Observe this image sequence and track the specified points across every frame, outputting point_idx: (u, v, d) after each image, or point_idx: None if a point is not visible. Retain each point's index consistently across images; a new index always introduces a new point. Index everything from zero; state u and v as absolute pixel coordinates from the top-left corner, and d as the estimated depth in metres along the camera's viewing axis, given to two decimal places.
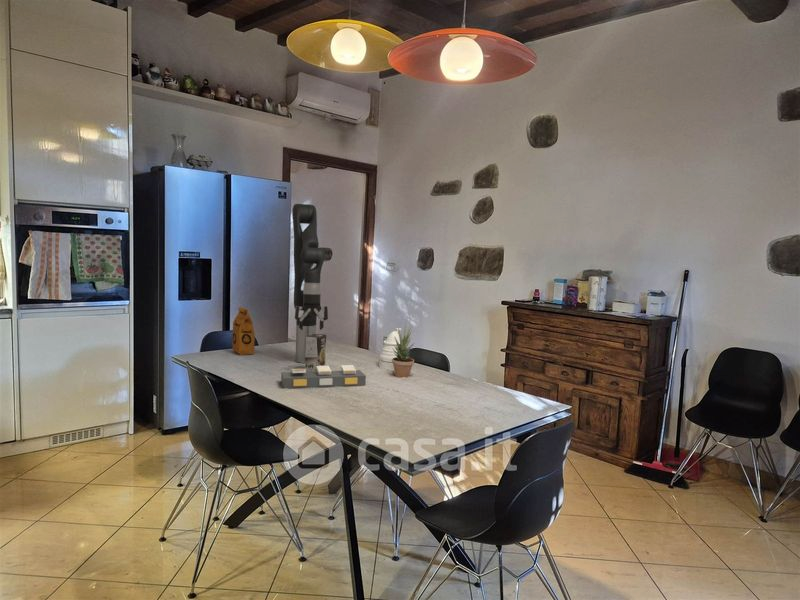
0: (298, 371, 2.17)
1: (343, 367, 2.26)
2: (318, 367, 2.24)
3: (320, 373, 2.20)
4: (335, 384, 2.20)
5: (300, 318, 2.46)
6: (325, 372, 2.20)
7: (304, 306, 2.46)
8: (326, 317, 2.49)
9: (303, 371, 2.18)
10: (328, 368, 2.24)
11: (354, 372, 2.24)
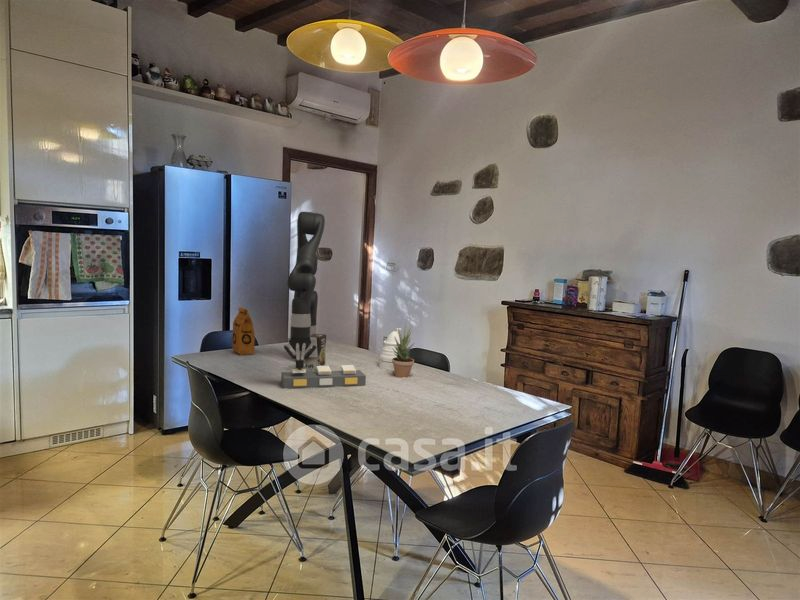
0: (298, 371, 2.17)
1: (343, 367, 2.26)
2: (318, 367, 2.24)
3: (320, 373, 2.20)
4: (335, 384, 2.20)
5: (297, 357, 2.16)
6: (325, 372, 2.20)
7: (290, 341, 2.14)
8: (307, 355, 2.17)
9: (303, 371, 2.18)
10: (328, 368, 2.24)
11: (354, 372, 2.24)
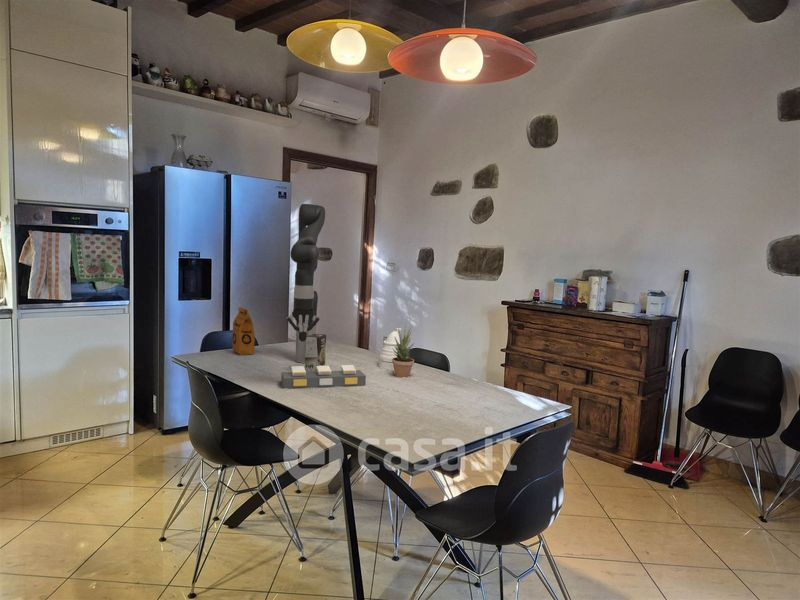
0: (298, 374, 2.17)
1: (343, 367, 2.26)
2: (318, 367, 2.24)
3: (320, 373, 2.20)
4: (335, 384, 2.20)
5: (300, 328, 2.16)
6: (325, 372, 2.20)
7: (293, 313, 2.14)
8: (310, 327, 2.17)
9: (303, 374, 2.18)
10: (328, 368, 2.24)
11: (354, 372, 2.24)
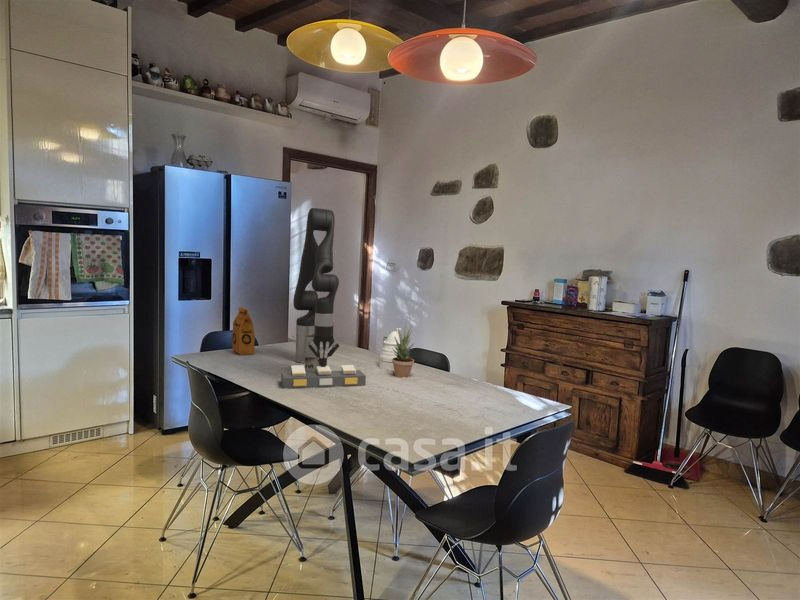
0: (298, 375, 2.17)
1: (343, 367, 2.26)
2: (318, 367, 2.24)
3: (320, 373, 2.20)
4: (335, 384, 2.20)
5: (321, 355, 2.24)
6: (325, 372, 2.20)
7: (314, 340, 2.22)
8: (330, 354, 2.25)
9: (303, 375, 2.18)
10: (328, 368, 2.24)
11: (354, 372, 2.24)
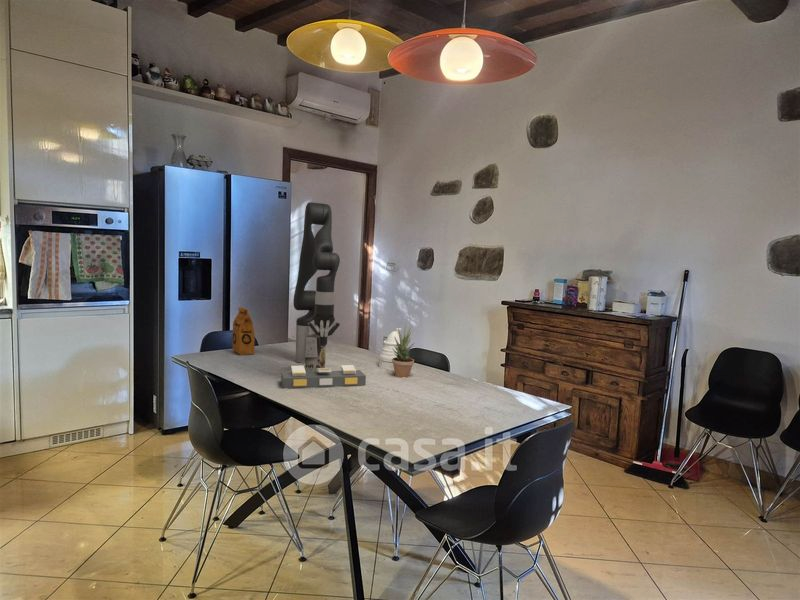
0: (298, 374, 2.17)
1: (343, 367, 2.26)
2: (318, 368, 2.24)
3: (320, 371, 2.20)
4: (335, 384, 2.20)
5: (321, 333, 2.23)
6: (325, 369, 2.20)
7: (315, 318, 2.21)
8: (330, 332, 2.24)
9: (303, 374, 2.18)
10: None
11: (354, 372, 2.24)
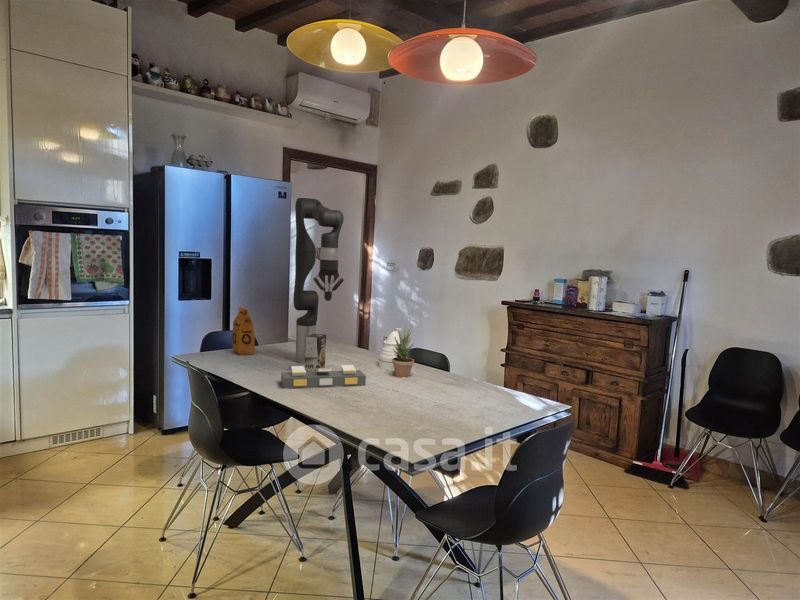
0: (298, 374, 2.17)
1: (343, 367, 2.26)
2: None
3: (320, 370, 2.20)
4: (335, 384, 2.20)
5: (326, 288, 2.31)
6: (325, 369, 2.20)
7: (320, 273, 2.29)
8: (335, 287, 2.32)
9: (303, 374, 2.18)
10: None
11: (354, 372, 2.24)
